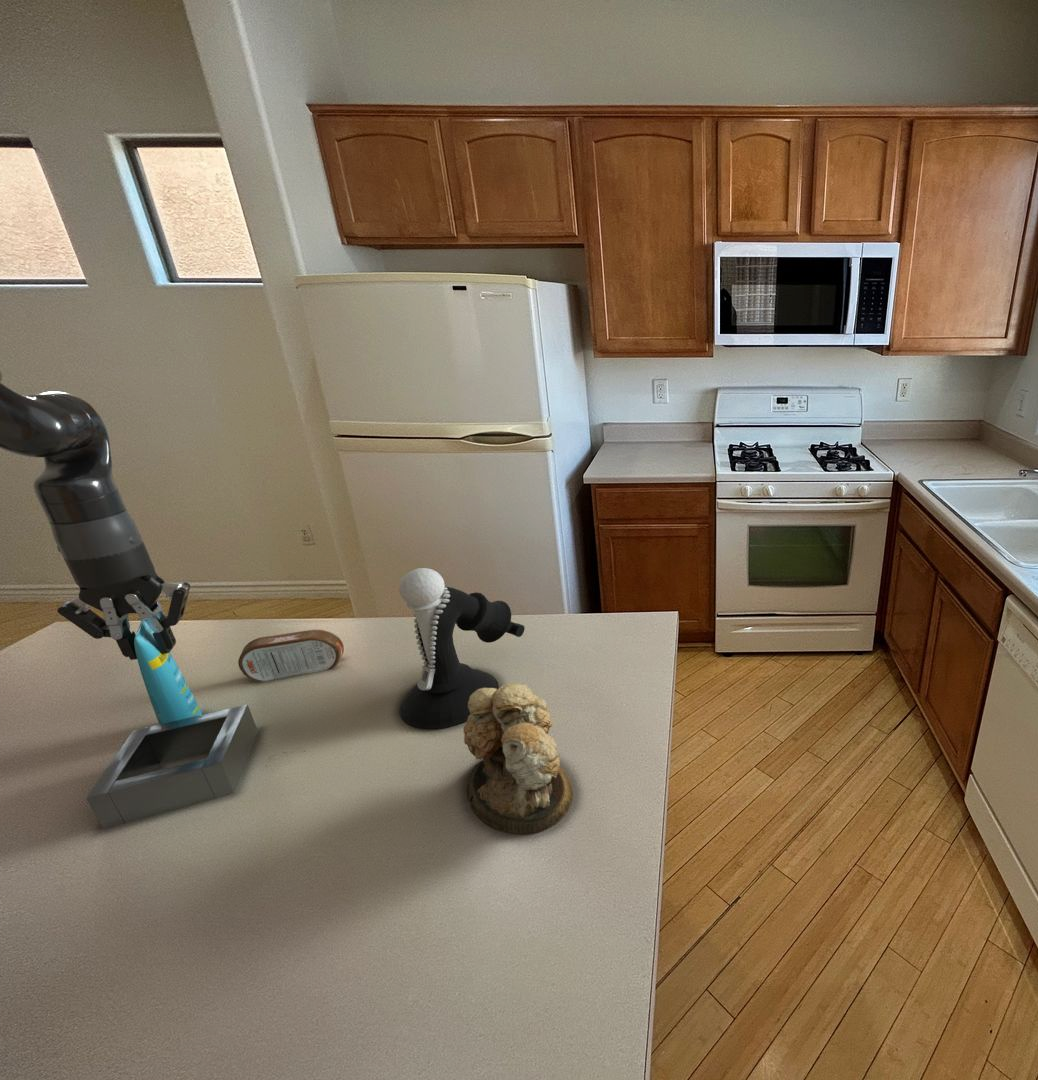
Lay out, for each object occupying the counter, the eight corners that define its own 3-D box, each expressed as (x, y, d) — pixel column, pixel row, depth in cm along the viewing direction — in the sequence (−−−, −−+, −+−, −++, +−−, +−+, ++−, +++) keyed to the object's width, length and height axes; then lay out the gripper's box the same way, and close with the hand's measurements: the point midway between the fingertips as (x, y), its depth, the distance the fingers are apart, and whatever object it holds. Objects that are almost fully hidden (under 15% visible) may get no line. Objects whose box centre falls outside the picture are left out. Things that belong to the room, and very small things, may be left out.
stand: (105, 833, 69) (85, 798, 67) (149, 762, 80) (132, 730, 78) (235, 797, 75) (220, 763, 72) (260, 735, 85) (247, 704, 83)
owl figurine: (440, 790, 76) (416, 689, 69) (513, 740, 85) (497, 646, 78) (523, 859, 67) (504, 750, 60) (595, 794, 76) (585, 693, 69)
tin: (349, 662, 103) (337, 623, 100) (345, 671, 100) (333, 632, 97) (251, 679, 98) (235, 639, 95) (244, 690, 95) (228, 649, 92)
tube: (207, 734, 85) (160, 628, 78) (164, 750, 82) (111, 640, 75) (205, 710, 90) (161, 608, 83) (164, 724, 87) (115, 619, 80)
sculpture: (381, 712, 90) (342, 575, 81) (498, 643, 109) (478, 526, 100) (440, 746, 84) (406, 601, 74) (554, 666, 103) (539, 543, 93)
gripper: (180, 529, 80) (220, 630, 87) (46, 544, 74) (100, 652, 81) (160, 547, 74) (205, 655, 81) (12, 566, 68) (73, 680, 75)
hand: (152, 653), depth 81 cm, fingers closed on tube, 3 cm apart
